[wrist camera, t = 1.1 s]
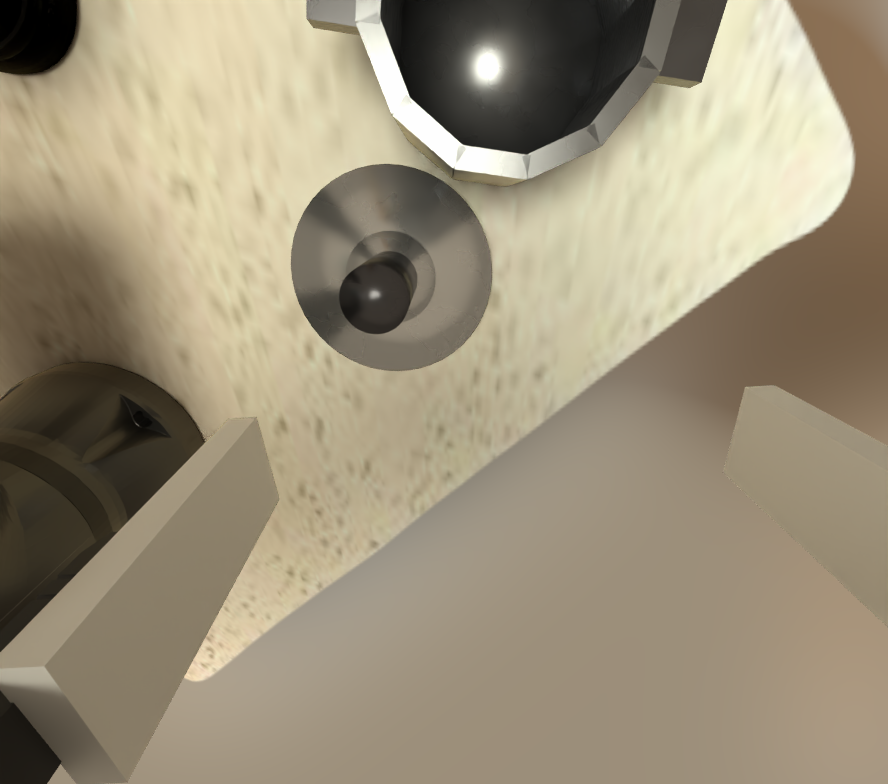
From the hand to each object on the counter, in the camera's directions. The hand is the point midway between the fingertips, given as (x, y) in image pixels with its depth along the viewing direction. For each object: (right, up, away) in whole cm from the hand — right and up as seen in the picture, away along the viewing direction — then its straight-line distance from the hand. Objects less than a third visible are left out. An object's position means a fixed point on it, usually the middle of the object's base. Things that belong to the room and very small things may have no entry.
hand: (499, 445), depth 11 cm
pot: (+2, +21, +12) cm, 24 cm away
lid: (-5, +10, +18) cm, 21 cm away
